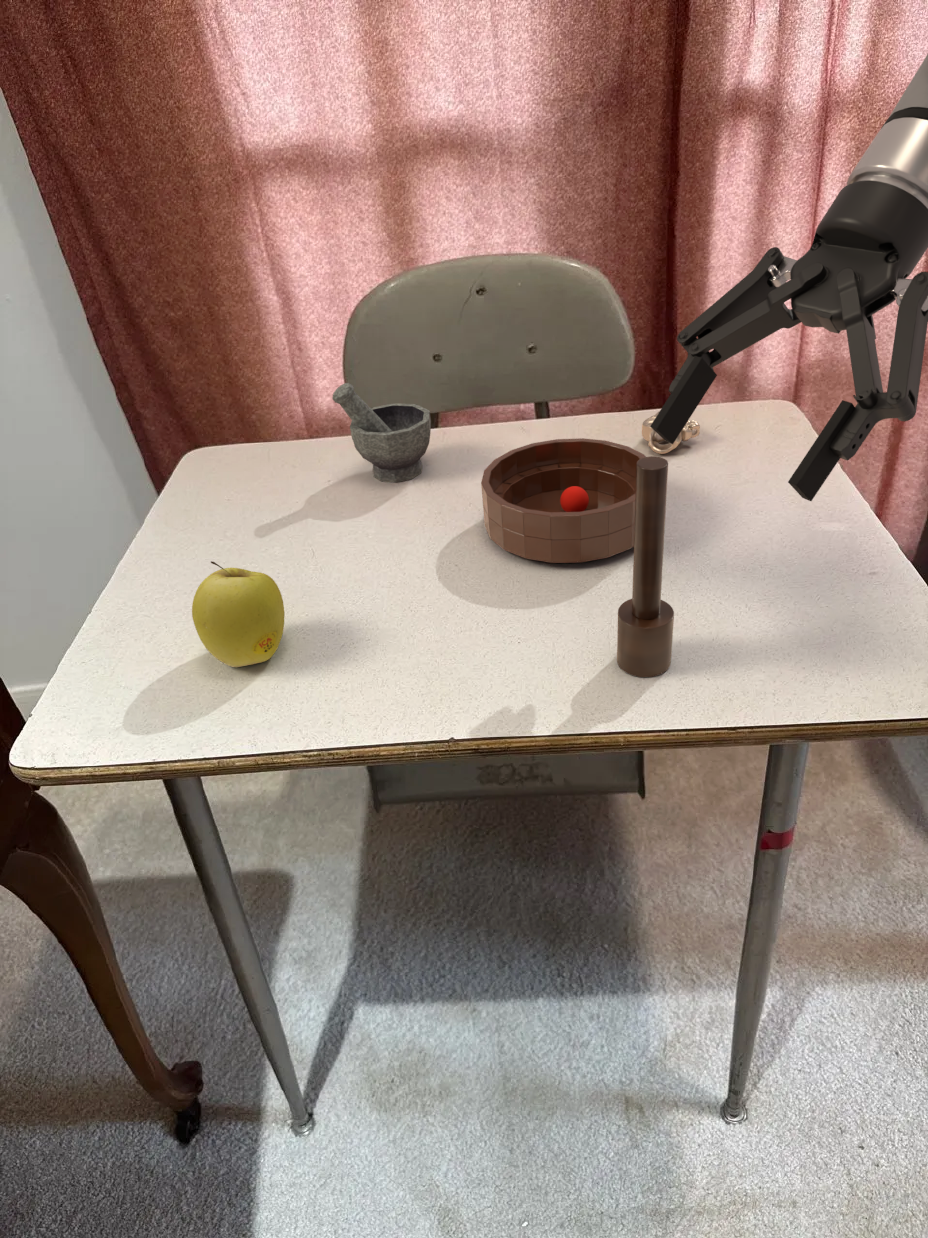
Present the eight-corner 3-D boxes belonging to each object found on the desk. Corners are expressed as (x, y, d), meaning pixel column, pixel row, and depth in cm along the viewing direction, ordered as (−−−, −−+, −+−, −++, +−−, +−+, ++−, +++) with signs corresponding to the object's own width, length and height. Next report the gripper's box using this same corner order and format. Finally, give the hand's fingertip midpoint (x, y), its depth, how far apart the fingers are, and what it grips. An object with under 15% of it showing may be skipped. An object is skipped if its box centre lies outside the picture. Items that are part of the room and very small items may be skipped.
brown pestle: (678, 673, 68) (693, 471, 58) (624, 681, 68) (630, 480, 57) (661, 641, 72) (672, 446, 61) (611, 648, 71) (613, 453, 61)
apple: (231, 689, 70) (186, 579, 66) (204, 669, 76) (163, 568, 73) (315, 650, 73) (277, 544, 70) (283, 634, 80) (246, 536, 77)
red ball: (583, 489, 90) (594, 512, 89) (557, 501, 91) (568, 523, 90) (580, 476, 88) (591, 499, 87) (554, 488, 88) (565, 511, 87)
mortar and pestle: (426, 448, 108) (414, 357, 102) (446, 477, 101) (435, 380, 94) (341, 467, 106) (323, 374, 99) (355, 497, 99) (337, 400, 92)
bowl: (658, 568, 81) (661, 514, 77) (477, 570, 83) (472, 517, 80) (648, 485, 95) (650, 435, 91) (494, 489, 98) (490, 441, 94)
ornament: (699, 456, 99) (701, 427, 97) (640, 456, 101) (641, 427, 99) (698, 429, 106) (700, 401, 104) (642, 429, 107) (643, 402, 105)
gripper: (1080, 264, 55) (888, 542, 57) (772, 222, 72) (636, 436, 75) (1062, 188, 49) (852, 497, 52) (735, 163, 67) (591, 395, 70)
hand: (724, 462), depth 63 cm, fingers open, 13 cm apart
